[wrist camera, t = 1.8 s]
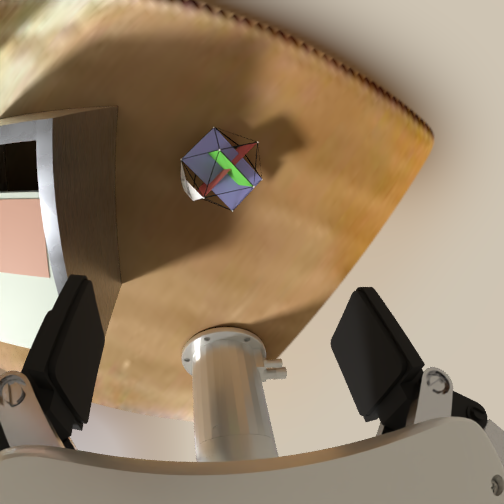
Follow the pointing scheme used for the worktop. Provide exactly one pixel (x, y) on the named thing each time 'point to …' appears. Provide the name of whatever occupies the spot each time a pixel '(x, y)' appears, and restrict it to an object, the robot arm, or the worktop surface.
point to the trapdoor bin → (75, 193)
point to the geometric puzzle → (220, 169)
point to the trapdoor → (23, 268)
